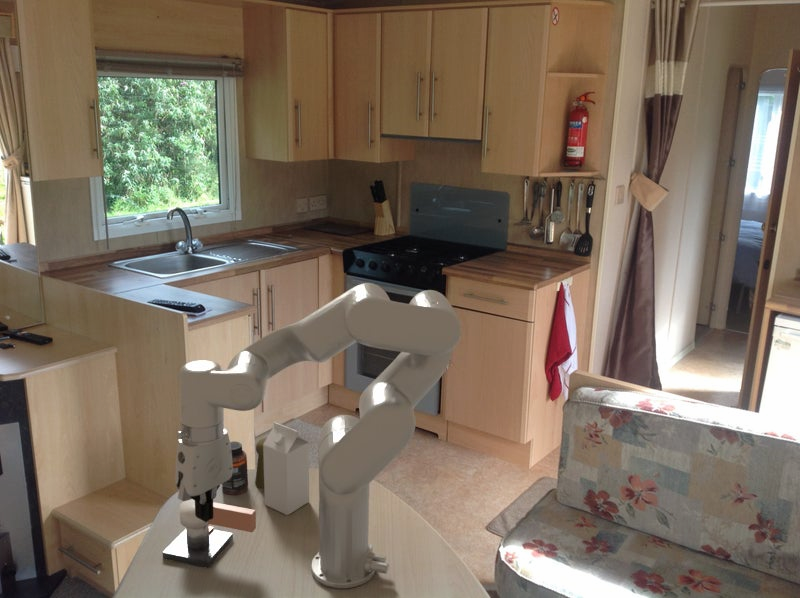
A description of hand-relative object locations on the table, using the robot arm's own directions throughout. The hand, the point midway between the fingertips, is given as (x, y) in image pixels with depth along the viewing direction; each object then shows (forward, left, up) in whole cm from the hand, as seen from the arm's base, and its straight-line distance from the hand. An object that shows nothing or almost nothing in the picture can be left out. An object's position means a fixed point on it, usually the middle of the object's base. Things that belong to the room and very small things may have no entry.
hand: (204, 517), depth 139 cm
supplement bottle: (+10, -30, -13) cm, 34 cm away
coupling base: (+6, -7, -12) cm, 15 cm away
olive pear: (+4, -35, -13) cm, 37 cm away
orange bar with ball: (+1, -7, -6) cm, 9 cm away
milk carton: (-4, -28, -13) cm, 31 cm away
